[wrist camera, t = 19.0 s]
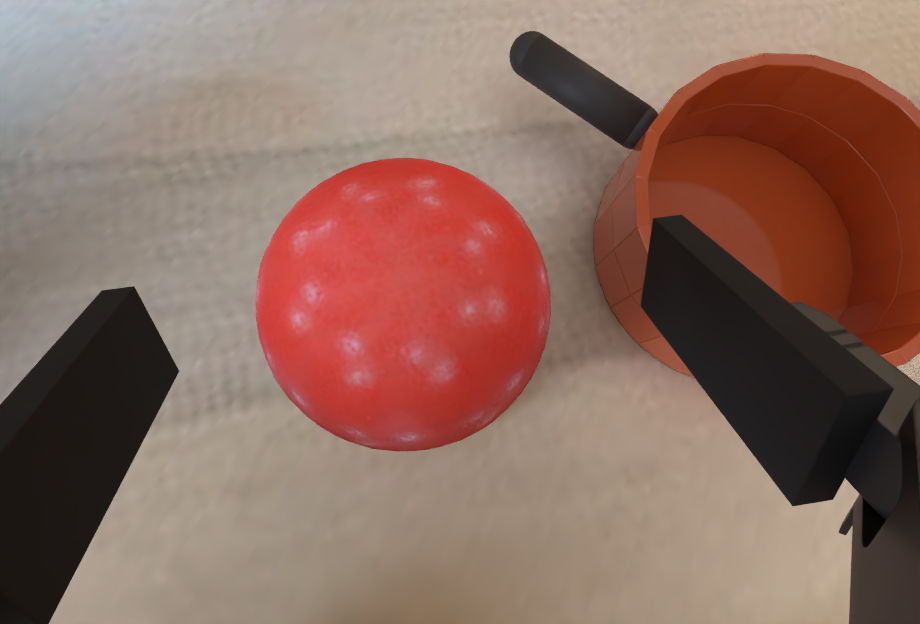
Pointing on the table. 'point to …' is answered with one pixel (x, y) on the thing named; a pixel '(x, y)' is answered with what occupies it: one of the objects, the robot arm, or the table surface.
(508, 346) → the stacking toy
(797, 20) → the table surface
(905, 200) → the pan
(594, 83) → the pan handle
